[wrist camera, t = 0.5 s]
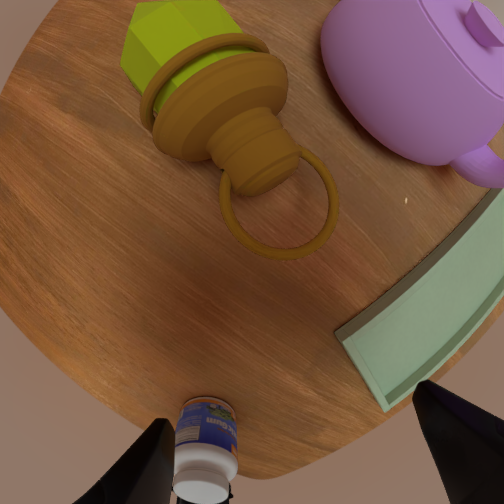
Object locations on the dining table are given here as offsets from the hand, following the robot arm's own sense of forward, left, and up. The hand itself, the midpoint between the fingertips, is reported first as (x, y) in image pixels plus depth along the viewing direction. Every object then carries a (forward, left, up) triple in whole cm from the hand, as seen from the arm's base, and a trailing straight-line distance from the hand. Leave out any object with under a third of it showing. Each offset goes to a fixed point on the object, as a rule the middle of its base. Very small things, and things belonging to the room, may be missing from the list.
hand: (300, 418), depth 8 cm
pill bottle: (-11, -7, -14) cm, 19 cm away
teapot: (+22, +8, -14) cm, 27 cm away
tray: (+17, -12, -14) cm, 25 cm away
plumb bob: (+5, +15, -14) cm, 21 cm away
